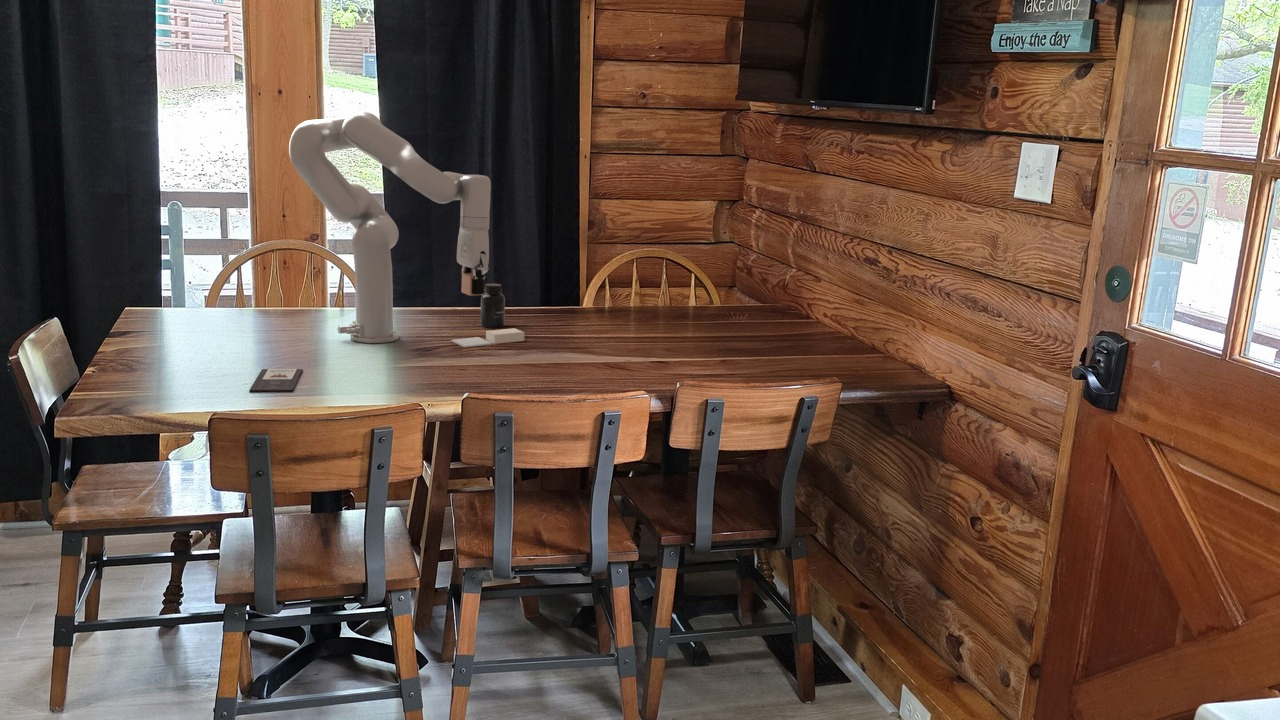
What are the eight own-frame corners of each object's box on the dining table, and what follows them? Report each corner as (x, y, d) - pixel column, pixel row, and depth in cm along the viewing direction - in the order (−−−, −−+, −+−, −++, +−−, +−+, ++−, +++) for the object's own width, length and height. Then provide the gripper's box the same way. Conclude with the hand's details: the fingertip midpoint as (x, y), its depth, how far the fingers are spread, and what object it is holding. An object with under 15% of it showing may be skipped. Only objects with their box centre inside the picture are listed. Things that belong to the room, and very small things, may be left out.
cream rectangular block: (494, 343, 281) (494, 334, 280) (485, 340, 284) (486, 330, 284) (524, 340, 286) (524, 331, 285) (515, 337, 290) (515, 327, 289)
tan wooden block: (469, 295, 275) (470, 276, 273) (461, 292, 279) (461, 273, 277) (483, 294, 277) (484, 275, 276) (475, 291, 281) (475, 272, 280)
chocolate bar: (249, 390, 226) (262, 369, 244) (249, 394, 227) (262, 373, 244) (293, 389, 228) (302, 368, 245) (293, 394, 228) (302, 372, 246)
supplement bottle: (502, 328, 299) (503, 287, 296) (478, 327, 299) (478, 286, 296) (506, 323, 306) (506, 283, 303) (482, 322, 306) (483, 282, 303)
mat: (464, 347, 275) (464, 346, 275) (451, 341, 281) (451, 339, 281) (491, 344, 280) (492, 343, 280) (478, 338, 286) (478, 337, 286)
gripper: (447, 219, 278) (445, 286, 282) (476, 227, 264) (474, 298, 269) (472, 218, 282) (470, 285, 286) (503, 227, 269) (500, 297, 273)
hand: (472, 291), depth 278 cm, fingers closed on tan wooden block, 5 cm apart
